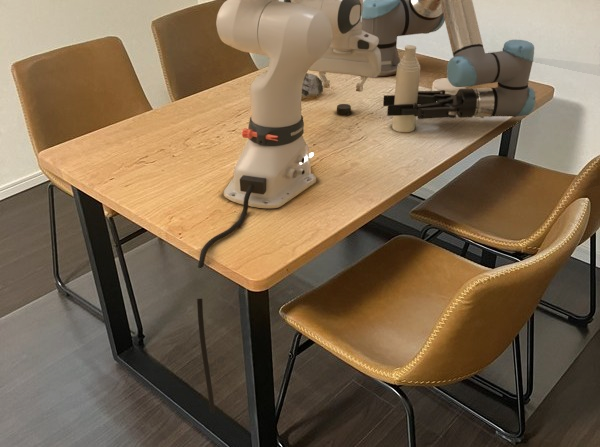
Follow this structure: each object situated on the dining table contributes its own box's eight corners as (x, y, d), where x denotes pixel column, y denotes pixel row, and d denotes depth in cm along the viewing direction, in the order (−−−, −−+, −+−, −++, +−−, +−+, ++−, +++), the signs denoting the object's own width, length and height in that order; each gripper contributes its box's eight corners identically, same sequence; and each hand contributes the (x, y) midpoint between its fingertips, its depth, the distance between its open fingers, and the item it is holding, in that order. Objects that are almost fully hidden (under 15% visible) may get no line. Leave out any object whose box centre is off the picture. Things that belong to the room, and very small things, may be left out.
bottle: (396, 121, 169) (402, 42, 157) (417, 125, 167) (425, 45, 155) (389, 129, 165) (395, 48, 153) (410, 133, 162) (418, 51, 151)
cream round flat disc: (427, 89, 189) (428, 78, 188) (459, 87, 190) (460, 76, 188) (437, 101, 181) (438, 89, 179) (470, 99, 182) (471, 88, 180)
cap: (334, 114, 174) (334, 107, 173) (340, 109, 177) (340, 102, 176) (347, 116, 173) (347, 109, 172) (352, 111, 176) (353, 105, 175)
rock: (327, 94, 187) (327, 70, 183) (303, 102, 181) (302, 79, 177) (294, 83, 196) (293, 61, 192) (270, 91, 190) (268, 68, 186)
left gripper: (303, 37, 164) (303, 88, 171) (379, 44, 158) (375, 96, 165) (310, 32, 169) (310, 81, 176) (384, 38, 163) (381, 89, 170)
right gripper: (481, 130, 157) (390, 133, 156) (462, 103, 173) (379, 105, 172) (486, 102, 153) (392, 105, 152) (465, 76, 169) (380, 79, 168)
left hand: (342, 89), depth 170 cm, fingers open, 8 cm apart
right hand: (385, 105), depth 162 cm, fingers closed on bottle, 6 cm apart
